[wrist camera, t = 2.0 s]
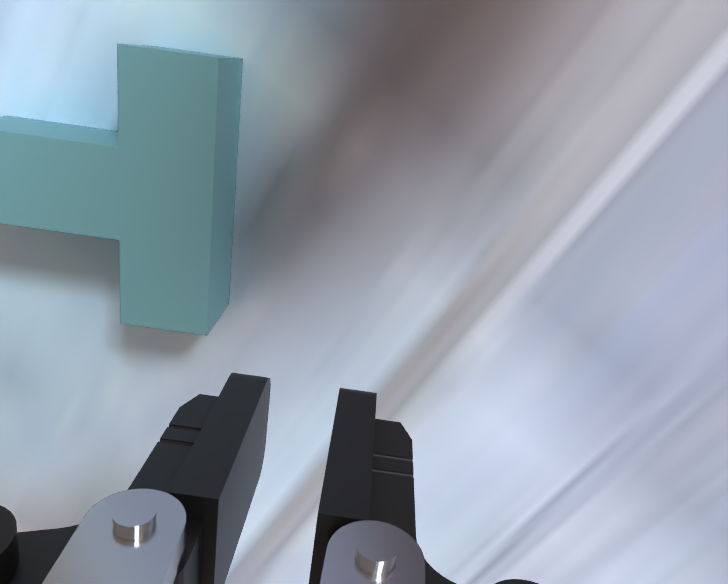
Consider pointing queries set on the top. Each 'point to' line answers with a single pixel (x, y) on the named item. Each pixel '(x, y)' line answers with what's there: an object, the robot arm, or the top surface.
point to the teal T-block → (143, 182)
